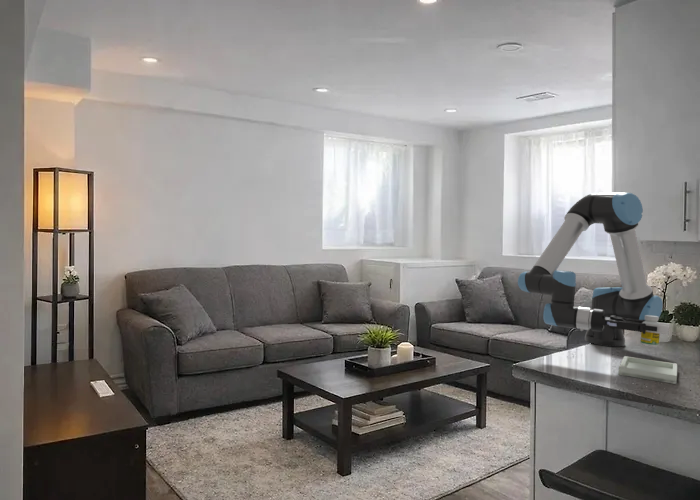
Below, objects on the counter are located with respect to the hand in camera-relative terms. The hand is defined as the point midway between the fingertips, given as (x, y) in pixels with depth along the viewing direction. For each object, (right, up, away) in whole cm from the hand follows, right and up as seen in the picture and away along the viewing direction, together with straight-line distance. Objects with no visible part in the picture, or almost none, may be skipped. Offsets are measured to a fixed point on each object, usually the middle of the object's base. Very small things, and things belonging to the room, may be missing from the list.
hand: (669, 329), depth 183 cm
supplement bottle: (-5, -6, +3) cm, 8 cm away
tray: (-5, -15, +3) cm, 16 cm away
